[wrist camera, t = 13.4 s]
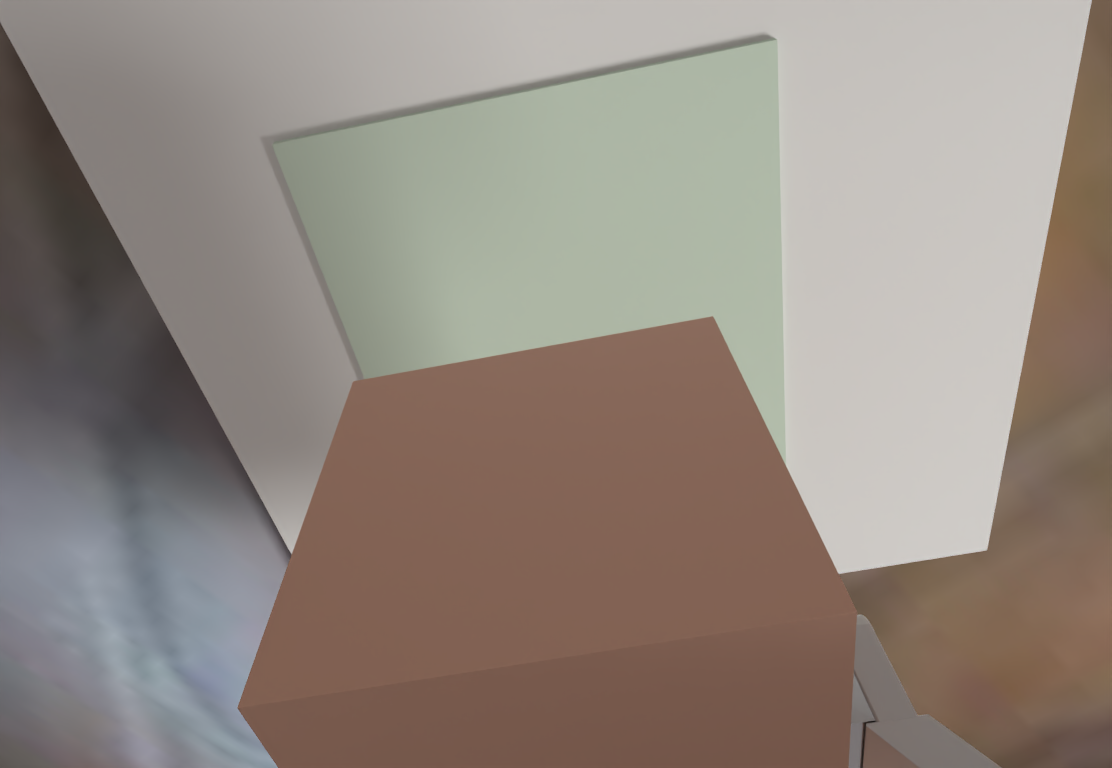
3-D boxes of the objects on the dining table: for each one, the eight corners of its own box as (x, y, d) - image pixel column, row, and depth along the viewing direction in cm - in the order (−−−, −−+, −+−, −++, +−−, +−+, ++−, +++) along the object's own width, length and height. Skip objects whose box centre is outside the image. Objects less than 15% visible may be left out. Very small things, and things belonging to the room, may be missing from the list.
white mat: (1333, -1440, 7) (1402, -1555, 7) (978, 538, 23) (990, 554, 22) (-454, -859, 9) (-526, -917, 8) (348, 639, 24) (343, 657, 23)
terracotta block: (747, 767, 16) (713, 316, 10) (831, 1079, 12) (856, 612, 6) (517, 801, 16) (352, 381, 10) (517, 1115, 12) (237, 707, 6)
